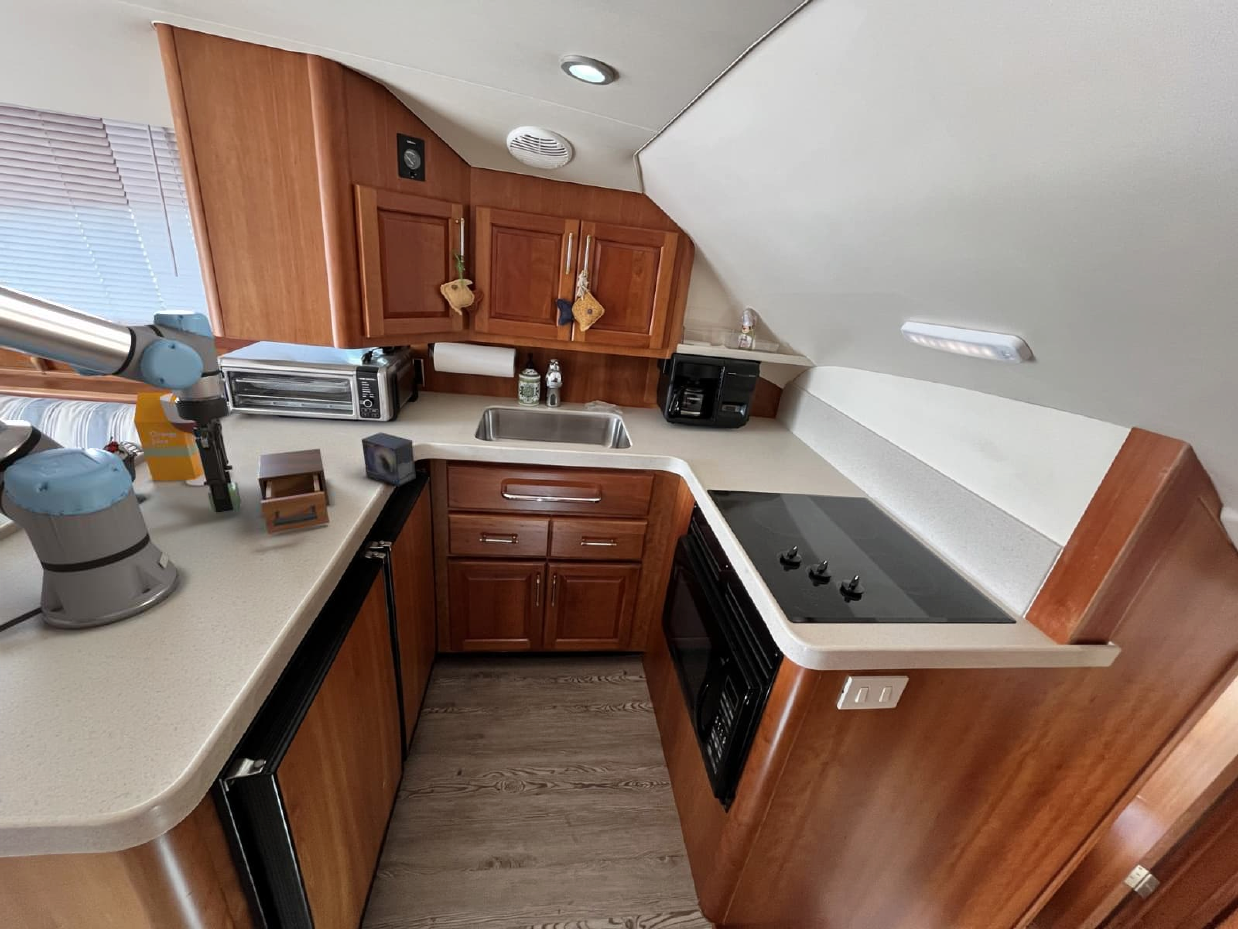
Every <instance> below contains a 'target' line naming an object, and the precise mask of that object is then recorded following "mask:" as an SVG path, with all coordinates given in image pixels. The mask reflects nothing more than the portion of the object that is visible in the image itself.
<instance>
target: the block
mask: <svg viewBox="0 0 1238 929" xmlns="http://www.w3.org/2000/svg"><path fill="white" fill-rule="evenodd" d="M227 484H228V488H229V493H230V497H231V501H232V506H233V511H238V510H240V509H241V504H242V498H241V494H240V490H239V486H238V482H237V481H236V482H235V481H234V482H231V483H227ZM207 497H208V501H209V504H210V508H211V513H212V514H217V513H216V510H215V506H214V502H213V498H212V494H211V490H210V487H209V488H208V492H207Z"/></svg>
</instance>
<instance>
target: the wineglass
mask: <svg viewBox="0 0 1238 929" xmlns="http://www.w3.org/2000/svg"><path fill="white" fill-rule="evenodd" d="M170 393H171V394H167V395H163V396H161V397H160V402H161V405H162V407H163V410H164V412H165V414H166V417H167V419H168V420H169V422H170V423H171V424H172V426H174V427H175V428H176V429H178V430H180V431H183V432H186V433H190V434H192V435H193V438H194V442H195V439H196V437H195V436H194V432H193V428H195V424H196V422H195V421H192V420H189V421H188V420H184V419H181V418H180V417H179V415H178V411H177V407H176V403H175V402H170V399H171V397H172V395H173V393H172V392H170ZM195 445H196V449H197V453H198V456H199V460H200V464H201V467H202V471H203V475H201V476H199V477H198V478H197V479H193V480H187V481H185V482H186V484H187V485H190V486H205V485H204V482H206V478H205V474H204V470H203V466H202V462H201V458H200V454H199V450H198V447H197V444H196V442H195Z"/></svg>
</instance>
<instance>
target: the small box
mask: <svg viewBox="0 0 1238 929" xmlns="http://www.w3.org/2000/svg"><path fill="white" fill-rule="evenodd" d="M361 444H362V446H361V447H362V452H363V453H362V454H363V459H364V460H363V461H364V466H365V473H366V478H368V479H373V480H374V481H375V480H376V481H379V482H382V483H385V484H389V485H392V486H395V487H400V486H403V485H405V484H406V483H409V482H411V481H412V480H414V479H415V480H416V478H417V476H416V467H415V459H414V458H415V457H414V448H413V440H412V439H408V438H404V437H400V436H396V435H392V434H388V433H385V432H382V431H380V432H378V433H375V434H372V435H370V436H367V437H364V438H361Z"/></svg>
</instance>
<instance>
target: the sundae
mask: <svg viewBox="0 0 1238 929" xmlns="http://www.w3.org/2000/svg"><path fill="white" fill-rule="evenodd" d="M113 439H114V437H113V436H110V440H109V442H108V444H106V445H105V446H104V447H103V448H102V450H105V451H108V452H110V453H113V454H115V455H116V456H118V457H119V458H120V459H121V460H122V461H123V463H124V465H125V467H126V469H127V470H128V471H129V474H130V475H131V478H132V484H133V483H134V482H135V480H136V479H137V474H136V473H137V472H136V467H135V458H136V457H138V455H139V454H138V453H137V452H136V451H133V450H130V449H127V448H126V447H125V446H124V444H121V443H119V442H118V441H114V440H113ZM135 495H136V498H137V501H138V504H140V503H141V502H143V501H145V500H146V498H147V497H146V495H143V494H135Z"/></svg>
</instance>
